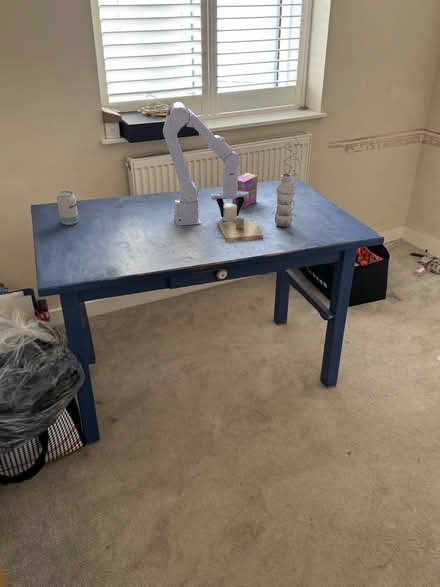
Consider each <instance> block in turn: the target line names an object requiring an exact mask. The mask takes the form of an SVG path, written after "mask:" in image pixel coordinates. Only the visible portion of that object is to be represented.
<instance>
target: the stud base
mask: <svg viewBox="0 0 440 587" xmlns="http://www.w3.org/2000/svg"><path fill="white" fill-rule="evenodd" d="M217 227H218V229H219V231H220V234H221V235H222V237H223V239H224V241H225V242H237V241H238V242H239V241H249V240H251V241H252V240H260V239H261V240H262V239H263V238H264V234H263V233H262V231H261V230H260V228H259V227H258V225H257V224H256V222H255V221H254V220H253V219H248V220H245V219H244V217H242V216H240V217H239V216H237V218H236V220H235V221H233V222H227V221H221V222H217Z"/></svg>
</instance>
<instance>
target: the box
mask: <svg viewBox="0 0 440 587" xmlns="http://www.w3.org/2000/svg"><path fill="white" fill-rule="evenodd" d="M258 177H259V176H258V175H257V174H254V173H249V172H246V173H244V174H241V175H238V188H237V191H239V192H248V193H249V197H248V198H244V203H243V205H242V207H241V209H245V208H247V207H248V206H251V205H253V204H254V203H256V202H257V194H258V193H257V192H258V179H259V178H258ZM231 200H232V202H231V204H236V198H235V199H231Z"/></svg>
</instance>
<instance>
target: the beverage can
mask: <svg viewBox="0 0 440 587" xmlns="http://www.w3.org/2000/svg"><path fill="white" fill-rule="evenodd" d="M56 204H57V210H58V215H59V219H60V223H61V224H62V225H64V226H74V225H76V224H77V223H78V222H79V220H80V219H79V218H80V217H79V212H78V206H77V205H78V204H77V198H76V196H75V194H74V192H73V191H71V190H64V191H59V192H58V193H57V196H56Z"/></svg>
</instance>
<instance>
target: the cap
mask: <svg viewBox="0 0 440 587" xmlns="http://www.w3.org/2000/svg"><path fill="white" fill-rule="evenodd" d="M223 212H224V217H221V219H222V220H223V221H222V222H233V221H236V218H238V216H237V206H236V204H232V202H230V203H229V202H228V203H224V209H223Z"/></svg>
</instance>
